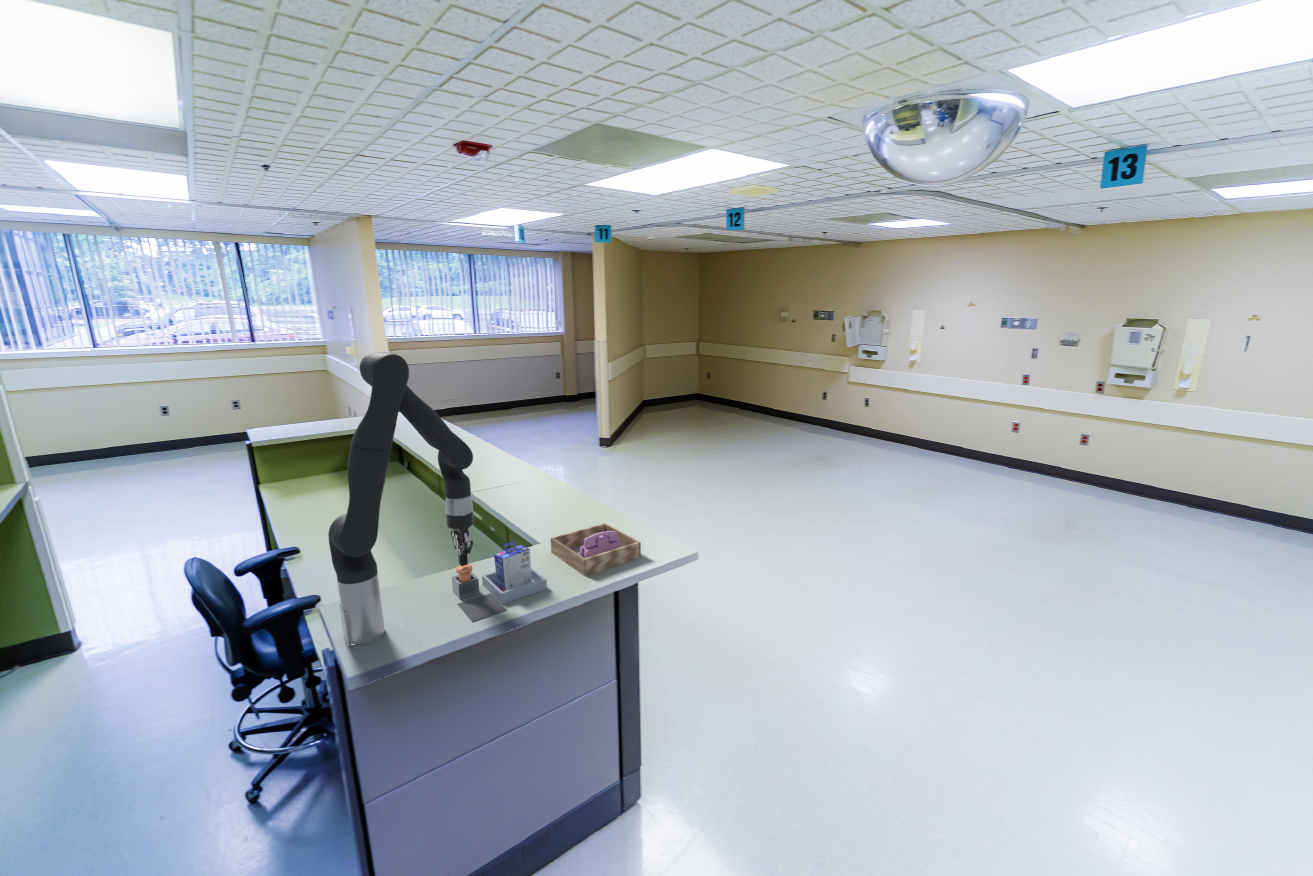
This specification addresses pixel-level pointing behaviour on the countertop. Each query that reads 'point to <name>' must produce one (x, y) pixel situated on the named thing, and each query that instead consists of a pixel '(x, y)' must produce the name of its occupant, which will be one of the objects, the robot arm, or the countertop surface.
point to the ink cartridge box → (513, 567)
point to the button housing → (465, 586)
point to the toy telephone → (599, 543)
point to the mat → (482, 607)
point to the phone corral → (596, 562)
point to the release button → (464, 572)
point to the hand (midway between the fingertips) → (463, 564)
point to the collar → (515, 592)
